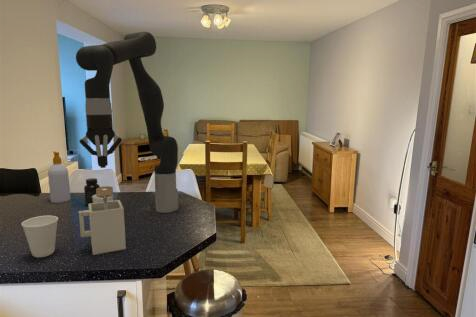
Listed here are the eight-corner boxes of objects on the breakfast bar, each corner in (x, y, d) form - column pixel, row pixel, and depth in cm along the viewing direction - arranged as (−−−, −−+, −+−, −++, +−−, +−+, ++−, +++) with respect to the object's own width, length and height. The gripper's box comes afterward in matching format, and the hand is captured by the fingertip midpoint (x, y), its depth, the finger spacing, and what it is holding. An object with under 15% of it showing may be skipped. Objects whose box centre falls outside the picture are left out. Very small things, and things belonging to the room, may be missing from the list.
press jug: (121, 237, 116) (119, 199, 114) (125, 248, 107) (123, 208, 105) (81, 244, 110) (78, 204, 108) (82, 257, 102) (78, 214, 99)
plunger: (118, 235, 114) (115, 184, 111) (121, 244, 108) (118, 189, 104) (95, 239, 111) (91, 186, 108) (96, 248, 104) (92, 192, 101)
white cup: (107, 222, 130) (105, 198, 128) (89, 221, 132) (87, 197, 130) (118, 216, 138) (116, 193, 136) (101, 214, 139) (100, 192, 137)
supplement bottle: (104, 203, 155) (102, 178, 152) (91, 207, 149) (89, 181, 147) (95, 201, 158) (93, 177, 156) (82, 204, 152) (80, 179, 150)
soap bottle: (67, 196, 165) (63, 150, 161) (73, 200, 158) (68, 152, 154) (48, 199, 159) (43, 151, 155) (53, 204, 152) (48, 154, 148)
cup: (35, 247, 108) (32, 215, 106) (66, 246, 109) (63, 214, 107) (18, 261, 98) (14, 227, 97) (52, 260, 99) (49, 226, 97)
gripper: (119, 112, 108) (122, 163, 111) (75, 113, 102) (79, 167, 105) (122, 113, 101) (126, 167, 104) (75, 113, 95) (80, 171, 98)
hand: (102, 167), depth 105 cm, fingers closed
